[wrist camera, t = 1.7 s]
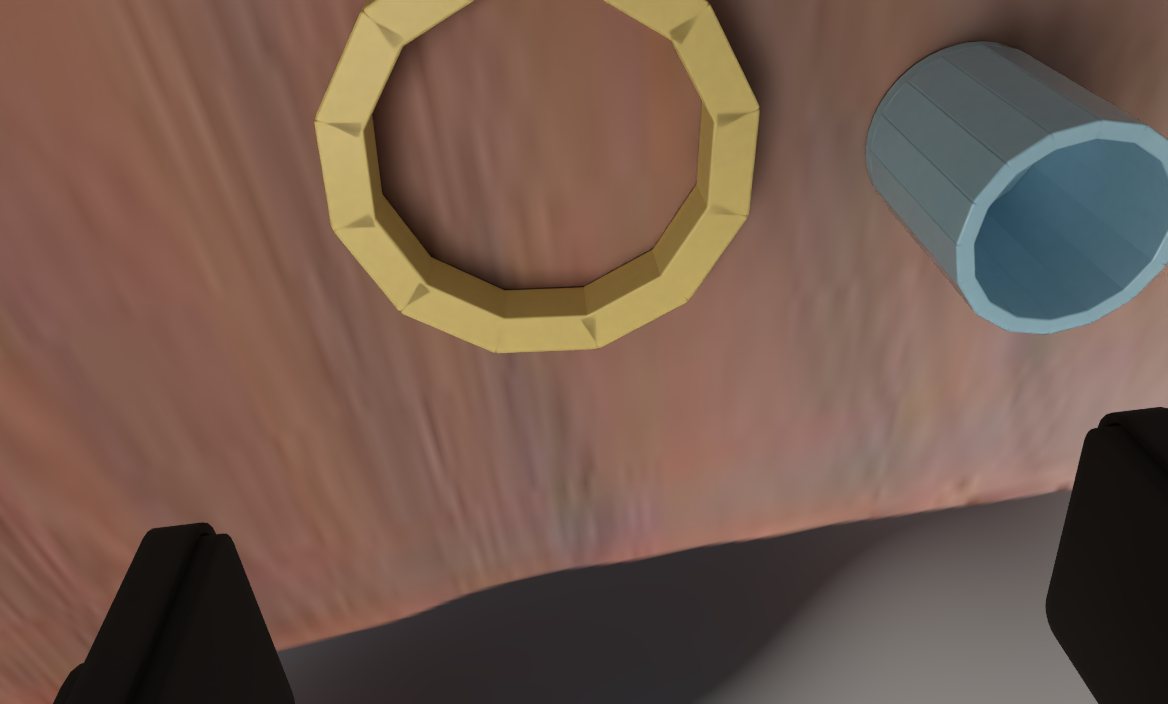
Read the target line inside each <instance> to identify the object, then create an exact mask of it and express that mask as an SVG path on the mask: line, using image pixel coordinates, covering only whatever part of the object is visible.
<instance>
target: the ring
mask: <svg viewBox="0 0 1168 704" xmlns="http://www.w3.org/2000/svg"><path fill="white" fill-rule="evenodd" d="M473 1H474V0H366V2H365V4H364V6H363V8H362V10H361V12H360V14H359V16H358V18H357V21H356V23H355V25H354V28H353V30H352V32H351V35H350V37H349V39H348V42H347V44H346V46H345V49H344V51H343V53H342V56H341V58H340V60H339V63H338V65H337V67H336V69H335V72H334V74H333V76H332V79H331V81H330V83H329V86H328V88H327V90H326V93H325V95H324V97H323V100H322V102H321V104H320V107H319V109H318V111H317V114H316V116H315V122H314V124H315V130H316V136H317V142H318V148H319V154H320V161H321V167H322V173H323V179H324V185H325V191H326V197H327V203H328V209H329V215H330V221H331V227H332V229H333V230H334V233H335V234H336V235H337V236H338V238H339V239H340V240H341V241H342V242H343V244H344V245H345V246H346V247H347V248H348V250H349V251H350V252H351V253H352V254H353V256H354V257H355V258H356V259H357V261H358V262H359V263H360V264H361V265H362V267H363V268H364V269H365V270H366V271H367V273H368V274H369V275H370V276H371V277H372V279H373V280H374V281H375V282H376V283H377V285H378V286H379V287H380V288H381V290H382V291H383V292H384V293H385V294H386V296H387V297H388V298H389V299H390V300H391V302H392V303H393V304H394V305H395V306H396V308H397V309H398V310H399V311H401V313H402V314H404V315H407V316H409V317H411V318H414V319H416V320H418V321H421V322H423V323H425V324H428V325H430V326H432V327H435V328H437V329H439V330H442V331H444V332H446V333H449V334H451V335H454V336H456V337H458V338H461V339H463V340H465V341H468V342H470V343H472V344H475V345H477V346H479V347H482V348H484V349H486V350H489V351H491V352H493V353H495V352H497V353H513V352H536V351H560V350H583V349H597V347H598V348H601V347H603V346H605V345H607V344H608V343H610V342H612V341H614V340H616V339H618V338H620V337H622V336H624V335H626V334H627V333H629V332H631V331H633V330H635V329H637V328H639V327H641V326H643V325H645V324H646V323H648V322H650V321H652V320H654V319H656V318H658V317H660V316H662V315H664V314H666V313H667V312H669V311H671V310H673V309H675V308H677V307H679V306H681V305H683V304H685V303H686V302H687V301H688V300H687V299H690V298H691V297H692V295H693V294H694V292H695V291H696V290H697V288H698V287H699V285H700V284H701V283H702V281H703V280H704V278H705V277H706V276H707V274H708V273H709V271H710V270H711V269H712V267H713V266H714V264H715V263H716V261H717V260H718V259H719V257H720V256H721V254H722V253H723V252H724V250H725V249H726V247H727V246H728V245H729V243H730V242H731V240H732V239H733V238H734V236H735V235H736V233H737V232H738V231H739V229H740V228H741V226H742V225H743V223H744V222H745V221H746V219H747V215H748V214H749V211H750V201H751V192H752V182H753V172H754V163H755V153H756V144H757V134H758V125H759V115H760V110H759V108H760V106H759V104H758V102H757V100H756V98H755V96H754V94H753V91H752V89H751V87H750V85H749V83H748V81H747V79H746V77H745V75H744V73H743V71H742V69H741V67H740V65H739V63H738V60H737V58H736V56H735V54H734V52H733V50H732V48H731V46H730V44H729V42H728V40H727V38H726V36H725V34H724V31H723V29H722V27H721V25H720V23H719V21H718V19H717V17H716V15H715V13H714V11H713V9H712V7H711V5H710V4H709V2H708V1H707V0H603V1H605V2H607V3H608V4H610V5H612V6H613V7H615V8H617V9H619V10H620V11H622V12H624V13H625V14H627V15H629V16H630V17H632V18H634V19H635V20H637V21H639V22H641V23H642V24H644V25H646V26H647V27H649V28H651V29H652V30H654V31H656V32H658V33H659V34H661V35H663V36H664V37H666V38H668V39H669V40H670V41H671V42H672V44H673V46H674V48H675V50H676V52H677V54H678V56H679V58H680V60H681V62H682V64H683V66H684V68H685V69H686V71H687V73H688V75H689V77H690V79H691V81H692V83H693V85H694V87H695V89H696V91H697V93H698V94H699V96H700V98H701V100H702V113H701V127H700V142H699V156H698V170H697V184H696V186H695V187H694V189H693V190H692V192H691V193H690V195H689V196H688V198H687V199H686V201H685V202H684V204H683V205H682V207H681V208H680V210H679V211H678V213H677V214H676V216H675V217H674V219H673V220H672V222H671V223H670V225H669V226H668V228H667V229H666V231H665V232H664V234H663V235H662V237H661V238H660V240H659V241H658V243H657V244H656V246H655V247H654V249H652V250H651V251H649V252H647V253H645V254H643V255H641V256H640V257H638V258H636V259H634V260H632V261H630V262H629V263H627V264H625V265H623V266H621V267H619V268H618V269H616V270H614V271H612V272H610V273H608V274H607V275H605V276H603V277H601V278H599V279H597V280H596V281H594V282H592V283H590V284H588V285H586V286H585V287H579V288H553V289H526V290H503V289H501V288H498V287H496V286H494V285H492V284H489V283H487V282H485V281H483V280H481V279H478V278H476V277H474V276H472V275H470V274H467V273H465V272H463V271H461V270H458V269H456V268H454V267H452V266H450V265H447V264H445V263H443V262H441V261H439V260H436V259H434V258H432V257H431V256H430V255H429V254H428V253H427V251H426V250H425V249H424V247H423V246H422V245H421V244H420V242H419V241H418V240H417V238H416V237H415V236H414V234H413V233H412V232H411V231H410V229H409V228H408V227H407V225H406V224H405V223H404V222H403V220H402V219H401V218H400V216H399V215H398V214H397V212H396V211H395V210H394V209H393V207H392V206H391V205H390V203H389V202H388V201H387V200H386V198H385V197H384V196H383V194H382V188H381V180H380V173H379V165H378V157H377V149H376V142H375V134H374V126H373V118H372V113H373V111H374V108H375V106H376V104H377V102H378V100H379V98H380V95H381V93H382V91H383V89H384V87H385V85H386V82H387V80H388V78H389V76H390V74H391V72H392V69H393V67H394V65H395V63H396V61H397V59H398V56H399V54H400V52H401V50H402V48H403V46H404V45H406V44H408V43H409V42H411V41H412V40H414V39H415V38H417V37H418V36H420V35H422V34H423V33H425V32H426V31H428V30H429V29H431V28H432V27H434V26H436V25H437V24H439V23H440V22H442V21H443V20H445V19H446V18H448V17H450V16H451V15H453V14H454V13H456V12H457V11H459V10H460V9H462V8H464V7H465V6H467V5H468V4H470V3H471V2H473Z"/></svg>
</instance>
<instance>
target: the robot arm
mask: <svg viewBox="0 0 1168 704" xmlns="http://www.w3.org/2000/svg"><path fill="white" fill-rule="evenodd" d="M1046 614H1047V619H1048V623H1049V625H1050V628H1051V630H1052V632H1053V634H1054V636H1055V637H1056V639H1057V640H1058V642H1059V644H1060V645H1061V647H1062V648H1063V650H1064V651H1065V653H1066V654H1067V656H1068V657H1069V659H1070V660H1071V662H1072V663H1073V665H1074V667H1075V668H1076V670H1077V671H1078V673H1079V674H1080V676H1081V678H1082V679H1083V681H1084V682H1085V684H1086V685H1087V687H1088V688H1089V690H1090V691H1091V693H1092V694H1093V696H1094V698H1095V699H1096V701H1097V702H1098V704H1168V408H1163V407H1156V408H1147V409H1139V410H1131V411H1123V412H1114V413H1110V414H1107V415H1105V416H1104V417H1103V418H1102V419H1101V420H1100V423H1099V425H1098V428H1095V429H1091V430H1090V431H1089V432H1088V433H1087V435H1086V437H1085V440H1084V444H1083V448H1082V452H1081V456H1080V460H1079V465H1078V469H1077V473H1076V477H1075V481H1074V485H1073V490H1072V494H1071V498H1070V502H1069V506H1068V511H1067V515H1066V519H1065V523H1064V527H1063V531H1062V536H1061V540H1060V544H1059V548H1058V552H1057V556H1056V560H1055V564H1054V569H1053V573H1052V578H1051V581H1050V585H1049V590H1048V594H1047V598H1046ZM53 704H295V701H294V696H293V693H292V690H291V688H290V685H289V682H288V680H287V678H286V675H285V672H284V670H283V667H282V665H281V662H280V660H279V657H278V655H277V652H276V649H275V647H274V644H273V642H272V639H271V637H270V634H269V632H268V629H267V626H266V624H265V621H264V619H263V616H262V614H261V611H260V609H259V606H258V604H257V601H256V598H255V596H254V593H253V591H252V588H251V586H250V583H249V581H248V578H247V576H246V573H245V570H244V568H243V565H242V563H241V560H240V558H239V555H238V553H237V550H236V548H235V545H234V543H233V541H232V539H231V537H230V536H229V535H228V534H217V535H216V533H215V531H214V529H213V527H212V526H210V525H209V524H208V523H194V524H186V525H178V526H170V527H161V528H153V529H151V530H150V531H148V532H147V533H146V535H145V536H144V538H143V540H142V542H141V544H140V546H139V548H138V550H137V552H136V554H135V556H134V559H133V561H132V563H131V565H130V567H129V569H128V571H127V573H126V575H125V578H124V580H123V582H122V584H121V586H120V588H119V590H118V592H117V594H116V597H115V599H114V601H113V603H112V605H111V607H110V609H109V611H108V613H107V616H106V618H105V620H104V622H103V624H102V626H101V628H100V630H99V632H98V635H97V637H96V639H95V641H94V643H93V645H92V647H91V649H90V651H89V654H88V656H87V658H86V660H85V662H84V663H82V664H80V665H79V666H77V667H76V668H75V669H74V670H72V671H71V672H70V674H69V675H68V677H67V678H66V680H65V682H64V683H63V685H62V686H61V688H60V690H59V692H58V694H57V697H56V699H55V701H54V703H53Z"/></svg>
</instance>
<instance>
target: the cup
mask: <svg viewBox="0 0 1168 704" xmlns="http://www.w3.org/2000/svg"><path fill="white" fill-rule="evenodd" d="M866 165H867V171H868V174H869V177H870V180H871V183H872V185H873V187H874V189H875V191H876V192H877V194H878V195H879V196H880V198H881V199H882V200H883V201H884V203H885V204H886V206H887V208H888V209H889V211H890V212H891V213H892V214H893V215H894V217H895V218H896V219H897V220H898V221H899V223H900V224H901V225H902V226H903V227H904V229H905V230H906V231H907V232H908V233H909V235H910V236H911V237H912V238H913V239H914V241H915V242H916V243H917V244H918V245H919V247H920V248H921V249H922V250H923V251H924V253H925V254H926V255H927V256H928V257H929V259H930V260H931V261H932V262H933V263H934V265H935V266H936V267H937V268H938V269H939V271H940V272H941V273H942V274H943V275H944V277H945V278H946V279H947V280H948V281H949V283H950V284H951V285H952V286H953V287H954V289H955V290H956V291H957V292H958V293H959V295H960V296H961V297H962V298H963V299H964V300H965V302H966V303H967V304H968V305H969V306H970V308H971V309H972V310H973V311H974V312H975V313H976V314H977V315H978V316H980V317H982V318H984V319H986V320H988V321H989V322H991V323H993V324H995V325H997V326H998V327H1000V328H1002V329H1004V330H1006V331H1010V332H1022V333H1035V334H1052V333H1056V332H1060V331H1063V330H1067V329H1071V328H1075V327H1079V326H1083V325H1087V324H1090V323H1093V322H1095V321H1096V320H1098V319H1100V318H1102V317H1103V316H1105V315H1107V314H1108V313H1110V312H1112V311H1114V310H1115V309H1117V308H1119V307H1121V306H1122V305H1124V304H1126V303H1127V302H1129V301H1131V300H1132V299H1133V298H1135V296H1136V295H1137V294H1138V293H1139V292H1140V291H1141V290H1142V289H1143V288H1144V287H1145V286H1146V285H1147V284H1148V283H1149V282H1150V281H1151V280H1152V279H1153V278H1154V277H1155V276H1156V275H1157V274H1158V273H1159V272H1160V271H1161V270H1162V269H1163V268H1164V267H1165V266H1166V265H1165V264H1167V263H1168V139H1167V138H1165V137H1164V136H1162V135H1161V134H1160V133H1158V132H1157V131H1155V130H1154V129H1152V128H1151V127H1150V126H1148V125H1147V124H1145V123H1143V122H1141V121H1140V120H1138V119H1136V118H1135V117H1133V116H1131V115H1130V114H1128V113H1126V112H1125V111H1123V110H1121V109H1119V108H1118V107H1116V106H1114V105H1113V104H1111V103H1109V102H1108V101H1106V100H1104V99H1103V98H1101V97H1099V96H1097V95H1096V94H1094V93H1092V92H1091V91H1089V90H1087V89H1086V88H1084V87H1082V86H1080V85H1079V84H1077V83H1075V82H1074V81H1072V80H1070V79H1069V78H1067V77H1065V76H1064V75H1062V74H1060V73H1058V72H1057V71H1055V70H1053V69H1052V68H1050V67H1048V66H1047V65H1045V64H1043V63H1041V62H1040V61H1038V60H1036V59H1035V58H1033V57H1031V56H1030V55H1028V54H1026V53H1025V52H1023V51H1021V50H1018V49H1015V48H1013V47H1010V46H1007V45H1005V44H1000V43H995V42H985V41H978V42H967V43H962V44H958V45H954V46H951V47H948V48H945V49H942V50H940V51H938V52H936V53H934V54H931V55H929V56H928V57H926V58H924V59H923V60H921V61H920V62H918V63H917V64H915V65H914V66H913V67H912V68H910V69H909V70H908V71H906V72H905V73H904V74H903V75H902V76H901V77H900V78H899V79H898V80H897V81H896V82H895V84H894V85H893V86H892V87H891V88H890V90H889V91H888V92H887V94H886V95H885V97H884V98H883V100H882V101H881V103H880V104H879V106H878V108H877V110H876V112H875V114H874V117H873V119H872V122H871V125H870V128H869V132H868V136H867V143H866Z"/></svg>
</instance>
